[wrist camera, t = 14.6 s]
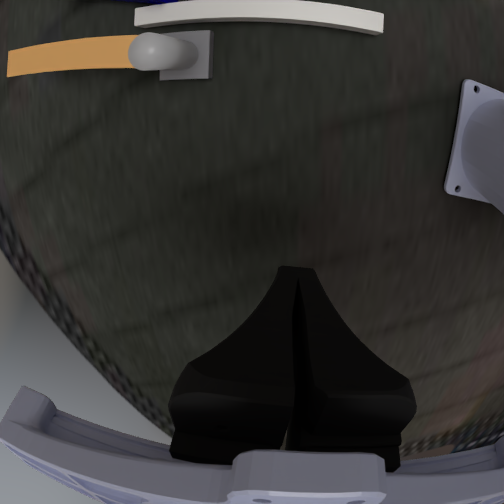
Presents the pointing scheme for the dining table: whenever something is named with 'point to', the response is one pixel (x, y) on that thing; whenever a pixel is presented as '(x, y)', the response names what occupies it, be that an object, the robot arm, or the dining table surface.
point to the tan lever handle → (105, 54)
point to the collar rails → (247, 9)
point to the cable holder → (151, 1)
